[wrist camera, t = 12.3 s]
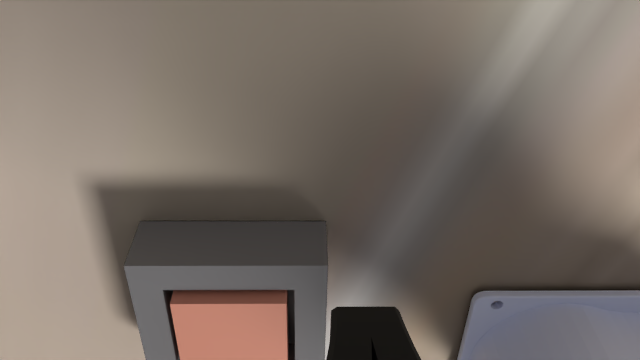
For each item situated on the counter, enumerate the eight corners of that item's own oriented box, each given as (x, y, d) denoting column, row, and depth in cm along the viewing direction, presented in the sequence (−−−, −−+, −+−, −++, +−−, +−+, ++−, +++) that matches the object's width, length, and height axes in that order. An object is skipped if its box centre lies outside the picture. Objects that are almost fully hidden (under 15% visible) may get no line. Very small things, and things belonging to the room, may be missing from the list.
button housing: (325, 221, 23) (327, 265, 21) (321, 342, 27) (323, 389, 25) (140, 221, 22) (123, 266, 20) (165, 343, 27) (153, 390, 24)
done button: (287, 269, 23) (286, 303, 21) (288, 340, 25) (287, 375, 23) (178, 269, 22) (169, 304, 21) (190, 340, 25) (183, 376, 23)
